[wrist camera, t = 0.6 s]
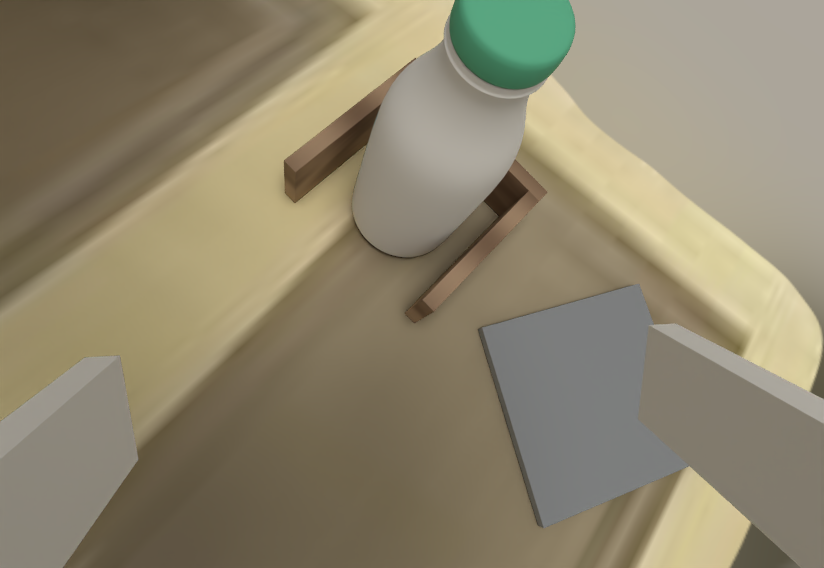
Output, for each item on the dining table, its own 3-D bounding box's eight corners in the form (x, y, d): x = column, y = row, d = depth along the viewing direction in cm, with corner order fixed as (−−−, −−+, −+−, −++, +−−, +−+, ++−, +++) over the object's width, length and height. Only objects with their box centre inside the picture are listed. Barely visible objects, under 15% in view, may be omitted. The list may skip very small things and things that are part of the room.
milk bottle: (457, 257, 37) (635, 108, 18) (354, 262, 35) (431, 99, 16) (445, 162, 38) (597, -69, 19) (346, 161, 36) (406, -97, 17)
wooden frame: (414, 323, 35) (433, 311, 30) (285, 192, 35) (283, 160, 30) (516, 217, 39) (547, 192, 34) (399, 99, 38) (415, 57, 34)
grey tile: (478, 329, 36) (482, 327, 35) (632, 285, 40) (639, 283, 39) (538, 525, 34) (543, 528, 33) (694, 458, 38) (703, 460, 37)
